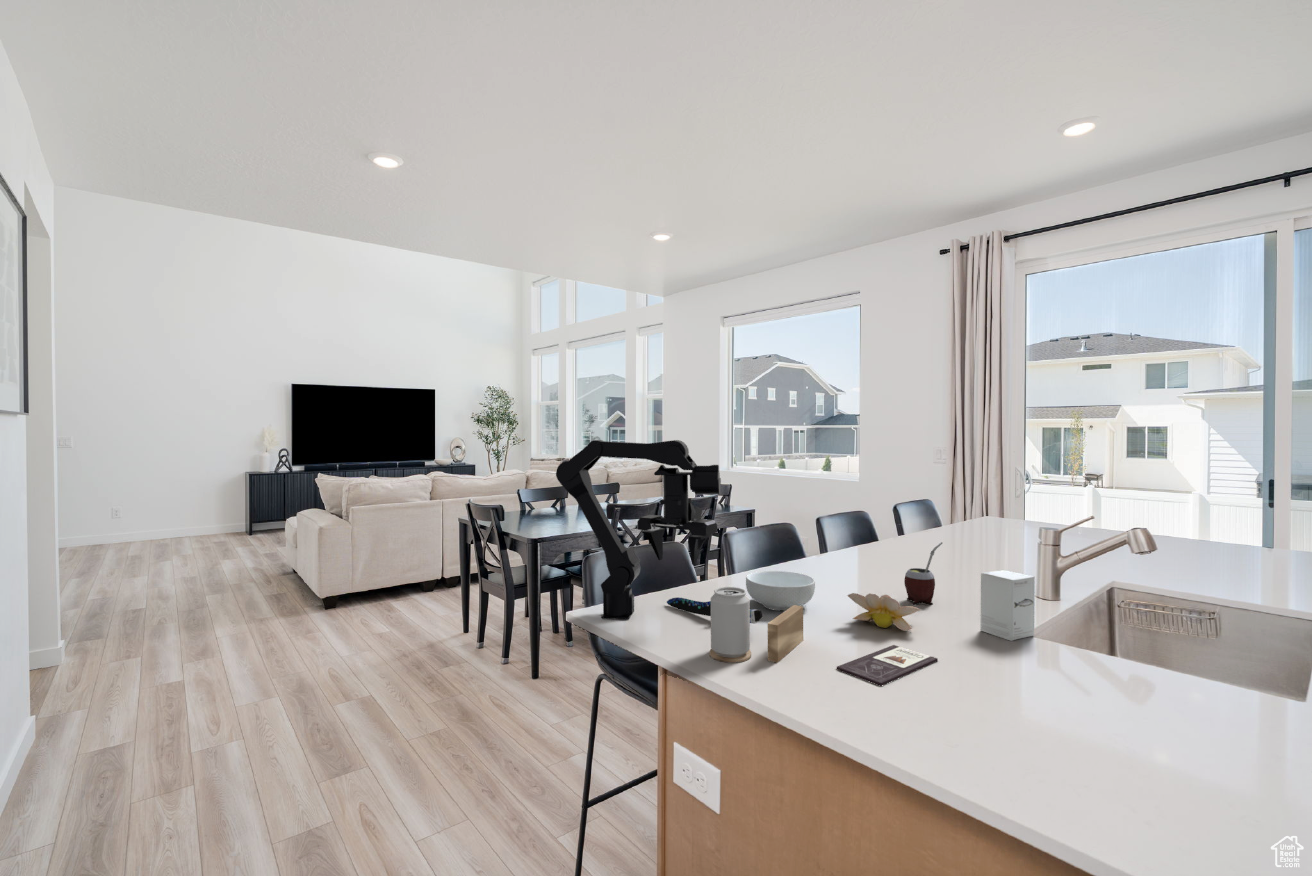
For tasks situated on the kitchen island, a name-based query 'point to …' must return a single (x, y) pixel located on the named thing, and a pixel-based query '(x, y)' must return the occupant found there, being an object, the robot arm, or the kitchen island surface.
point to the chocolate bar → (887, 664)
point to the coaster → (728, 659)
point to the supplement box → (1007, 604)
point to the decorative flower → (883, 610)
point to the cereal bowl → (780, 588)
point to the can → (730, 622)
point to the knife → (706, 608)
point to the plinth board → (785, 633)
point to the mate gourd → (920, 583)
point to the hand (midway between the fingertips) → (677, 562)
